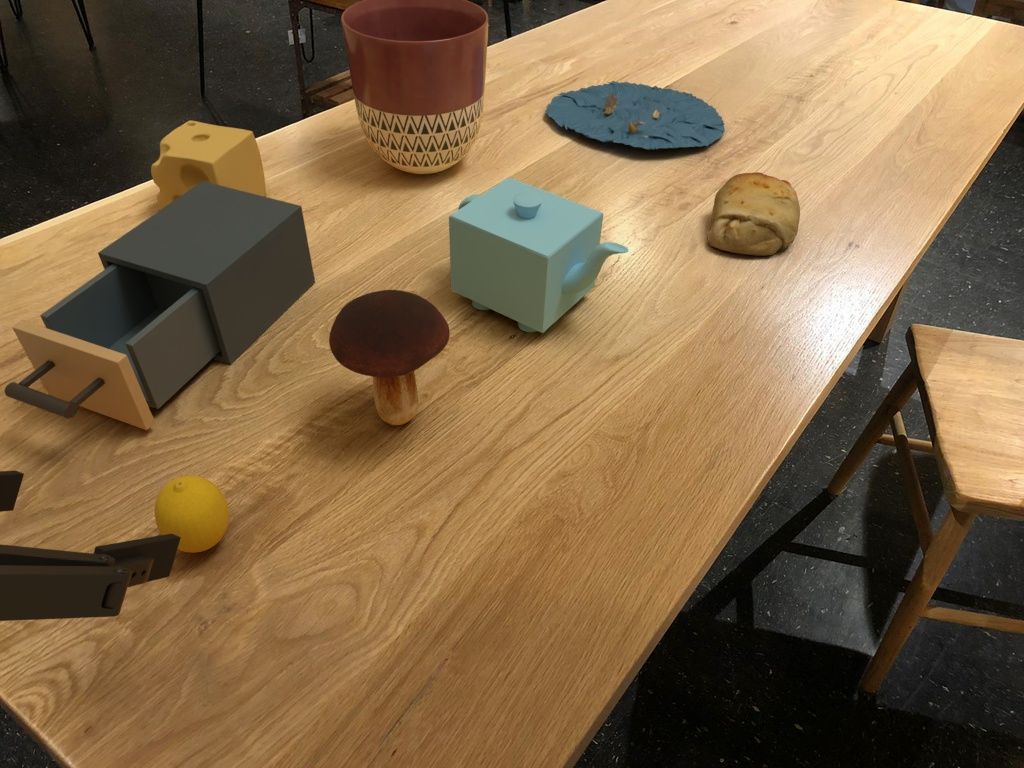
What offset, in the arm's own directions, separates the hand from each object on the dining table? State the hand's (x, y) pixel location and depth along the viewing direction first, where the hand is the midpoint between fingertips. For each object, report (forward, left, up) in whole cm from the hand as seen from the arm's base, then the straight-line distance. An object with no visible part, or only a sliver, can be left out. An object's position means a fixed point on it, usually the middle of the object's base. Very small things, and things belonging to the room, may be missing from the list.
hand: (90, 521), depth 52 cm
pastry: (+35, +77, -12) cm, 86 cm away
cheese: (-34, +53, -12) cm, 65 cm away
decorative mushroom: (+8, +27, -12) cm, 31 cm away
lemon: (0, +7, -12) cm, 15 cm away
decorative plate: (+11, +105, -12) cm, 107 cm away
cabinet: (-19, +35, -12) cm, 42 cm away
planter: (-14, +76, -12) cm, 79 cm away
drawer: (-19, +21, -11) cm, 30 cm away
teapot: (+14, +50, -12) cm, 54 cm away
